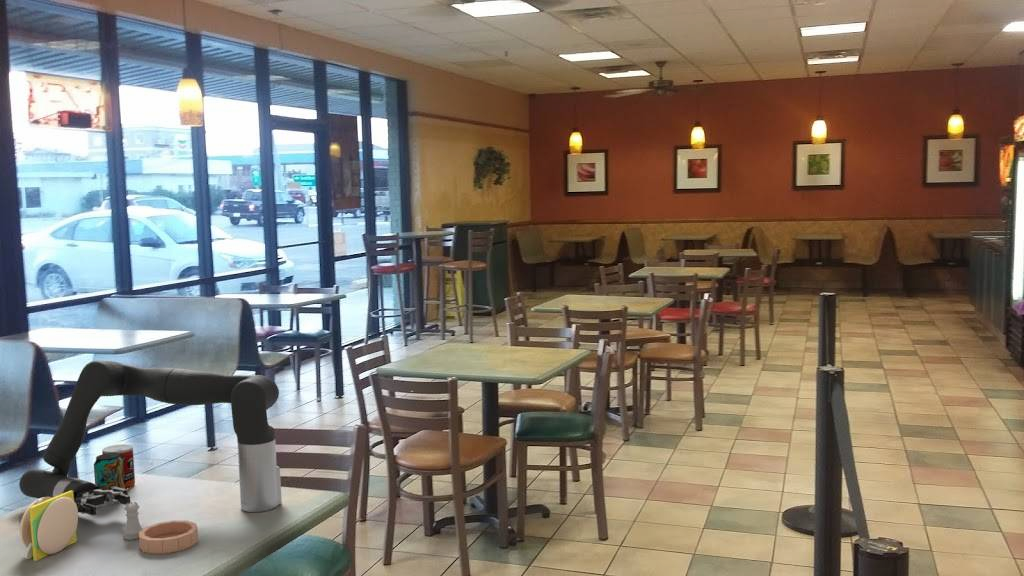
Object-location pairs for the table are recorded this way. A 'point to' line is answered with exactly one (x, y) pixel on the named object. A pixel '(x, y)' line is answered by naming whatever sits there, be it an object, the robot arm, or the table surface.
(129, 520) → the rook chess piece
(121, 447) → the canned food
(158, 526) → the dish
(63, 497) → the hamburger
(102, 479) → the beverage can
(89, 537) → the table surface
